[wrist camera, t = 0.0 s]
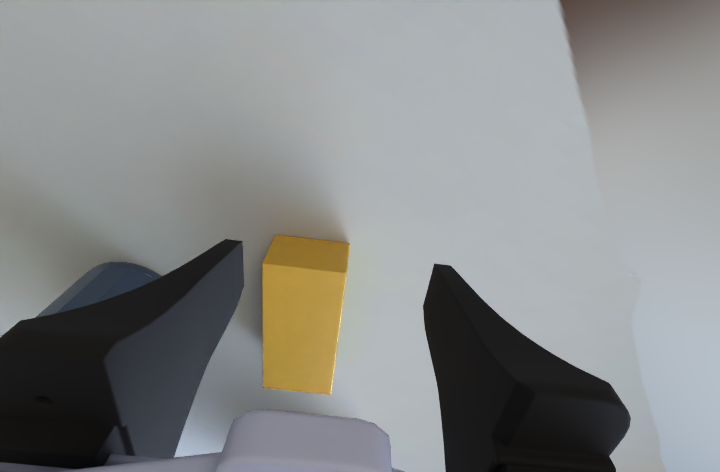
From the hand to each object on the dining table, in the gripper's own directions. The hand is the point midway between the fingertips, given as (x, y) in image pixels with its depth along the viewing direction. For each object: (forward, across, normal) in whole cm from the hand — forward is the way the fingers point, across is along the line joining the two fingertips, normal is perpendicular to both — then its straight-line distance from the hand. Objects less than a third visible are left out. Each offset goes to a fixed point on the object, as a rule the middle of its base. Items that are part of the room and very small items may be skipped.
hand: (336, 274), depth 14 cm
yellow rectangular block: (+10, +2, +10) cm, 14 cm away
